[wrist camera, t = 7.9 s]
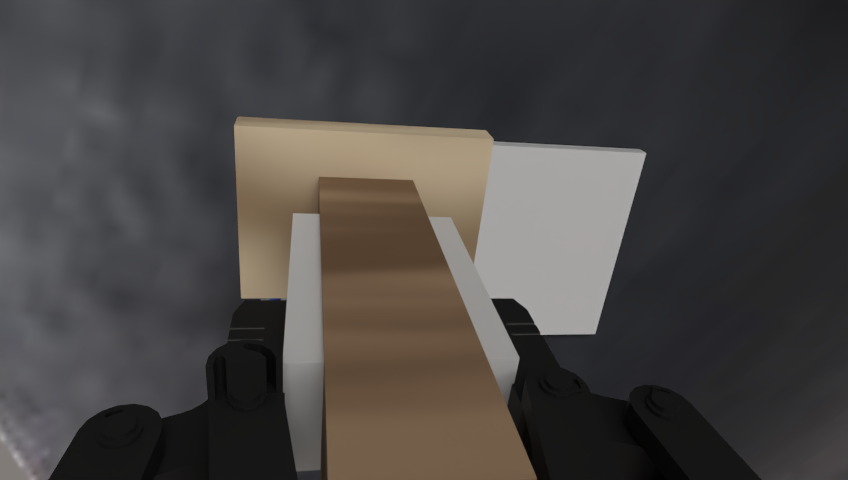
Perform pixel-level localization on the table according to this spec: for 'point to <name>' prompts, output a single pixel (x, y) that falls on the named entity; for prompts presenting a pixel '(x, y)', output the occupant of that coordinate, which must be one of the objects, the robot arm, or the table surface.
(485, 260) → the mat
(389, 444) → the wooden stamp
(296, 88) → the table surface
